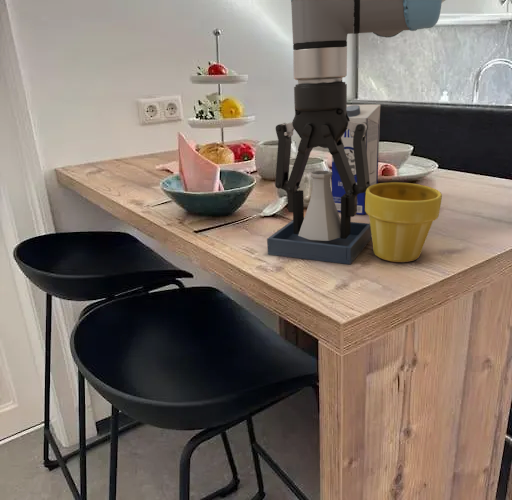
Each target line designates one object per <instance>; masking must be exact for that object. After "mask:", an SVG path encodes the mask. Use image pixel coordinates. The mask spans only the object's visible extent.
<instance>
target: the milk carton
mask: <svg viewBox="0 0 512 500" xmlns="http://www.w3.org/2000/svg"><path fill="white" fill-rule="evenodd" d="M381 106H382V105H381V104H379V103H378V104H377V103H376V104H375V103H374V104H370V103H369V104H347V115H348V117H349V119H350V121H353V122H357V123H363V122H366V123H367V124H368V130H367V134H366V138H365V140H366V150H367V160H368V170H369V180H370V186H371V185H374V184H379V154H380V153H379V152H380V151H379V150H380V124H381V122H380V121H381V120H380V119H381ZM341 139H342V142H343V145H344V151H345V153H346V156H347V159H348V162H349V165H350V167H351V170H352V173H353V176H354V178H355V181H356V184H357V177H356V168H355V159H354V149H353V137H351V136H350V131H349V129H347V130H346V131H345V133H344V134H343V136H342V137H341ZM331 172H332V176H331V191H332V196H333V199H334V202H335V205H336V208H337V211H338V213H341V197H342V196H343V195H344V194H345V190H344V187H343V184H342V181H341V179H340V176H339V173H338V170H337V168H336V165H335V162H334V159H333V157H332V156H331ZM365 196H366V191H365V192H364V193H360V194H358V195H357V213H356V215H362V216H365V215H367V213H366V212H365Z"/></svg>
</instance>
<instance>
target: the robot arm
mask: <svg viewBox="0 0 512 500" xmlns="http://www.w3.org/2000/svg"><path fill="white" fill-rule="evenodd" d="M445 1H446V0H290V3H291V26H292V50H293V51H292V53H293V54H292V57H293V59H292V61H293V64H292V65H293V79H294V80H295V81H297V84H295V86H293V95H294V96H293V98H294V99H293V100H294V117H293V119H292V121H290V122H282V123H279V124H277V125H275V132H276V137H277V154H276V167H275V168H276V169H275V181H274V186H275V188H276V189H280V190H283V191H285V192H286V197H287V199H286V201H287V211H288V213H292V220H293V229H294V234H299V232H300V229H301V226H302V223H303V220H304V217H305V212H304V211H305V210H304V209H305V206H304V203H305V202H304V190H302V189H301V190H300V188H301V186H300V184H301V182H302V179H303V176H304V173H305V170H306V167H307V164H308V161H309V158H310V155H311V152H312V151H313V149H314V148H318V147H319V148H323V149H328V153H329V154H330V155H331V158H332V157H333V159H334V162H335V165H336V168H337V170H338V173H339V176H340V179H341V181H342V184H343V187H344V190H345V194H344V195H343V196H342V197H341V212H340V218H341V239H346V238H347V237H348V236H349V235H350V234H351V222H352V218H354V217H355V216H356V215H357V214H356V213H357V195H358V194H360V193H364V192H365V191H366V189H367V188H368V187H369V186H370V180H369V170H368V160H367V150H366V140H365V138H366V134H367V130H368V124H367V123H366V122H363V123H357V122H353V121H350V119H349V117H348V115H347V105H348V85H347V83H346V81H343V78H346V77H347V75H348V35H352V34H353V35H356V34H369V33H370V34H371V33H372V34H374V35H376V36H377V37H381V38H393V37H396V36H397V35H399V34H401V33H402V32H403V31H411V32H416V31H418V30H424V29H432V28H434V27H435V26H436V25H437V23H438V22H439V19H440V15H441V12H442V11H441V10H442V4H443V3H444V2H445ZM347 129H349V131H350V136H351V137H353V149H354V159H355V168H356V177H357V184H356V181H355V178H354V176H353V173H352V170H351V167H350V165H349V162H348V159H347V156H346V153H345V151H344V145H343V142H342V139H341V137H342V136H343V134H344V133H345V131H346V130H347ZM294 131H295V132H296V134H297V136H299V138H300V141H299V143H298V146H297V147H298V148H297V153H296V157H295V159H294V162H293V165H292V168H291V173H290V166H291V165H290V164H291V154H292V153H291V152H292V151H291V150H292V136H293V135H294Z"/></svg>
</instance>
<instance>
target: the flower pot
mask: <svg viewBox="0 0 512 500" xmlns="http://www.w3.org/2000/svg"><path fill="white" fill-rule="evenodd" d="M442 198H443V194H442V192H441V191H440V190H439V189H436V188H434V187H431V186H428V185H424V184H418V183H414V182H413V183H411V182H401V181H400V182H398V181H393V182H392V181H390V182H380V183H379V182H378V184H374V185H371V186H369V187H368V188H367V189H366V196H365V212H366V215H368V220H369V224H370V227H371V241H372V250H373V255H375V256H376V257H378V259H382V260H385V261H387V262H393V263H409V262H413V261H416V260H418V258H420V256H421V253H422V251H423V248H424V245H425V243H426V240H427V238H428V235H429V233H430V230H431V228H432V225H433V222H434V221H436V220H437V219H438V218H439V214H440V211H441V205H442Z"/></svg>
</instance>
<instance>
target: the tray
mask: <svg viewBox="0 0 512 500" xmlns="http://www.w3.org/2000/svg"><path fill="white" fill-rule="evenodd" d="M298 235H299V234H294V229H293V219H292V220H290V222H288V223H286V224H285V225H284V226H282V227H281V228H280V229H278V230H277V231H276V232H274V233H273V234H272V235H270V236H269V237H268V238H266V244H267V255H269V256H277V257H278V256H279V257H287V258H295V259H302V260H311V261H319V262H327V263H335V264H336V263H337V264H343V265H352V263H354V261H355V260H356V259H357V257H358V256H359V255H360V254H361V252H363V250H364V249H365V248H366V246H367V245H368V244H369V242H370V241H372V235H371V227H370V222H369V223H367V222H357V221H351V234H350V235H349V236H348V237H347V238H346V239H341V237H340V238H336V239H333V240H330V241H322V240H309V239H306V238H304V237H301V236H298Z"/></svg>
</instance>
